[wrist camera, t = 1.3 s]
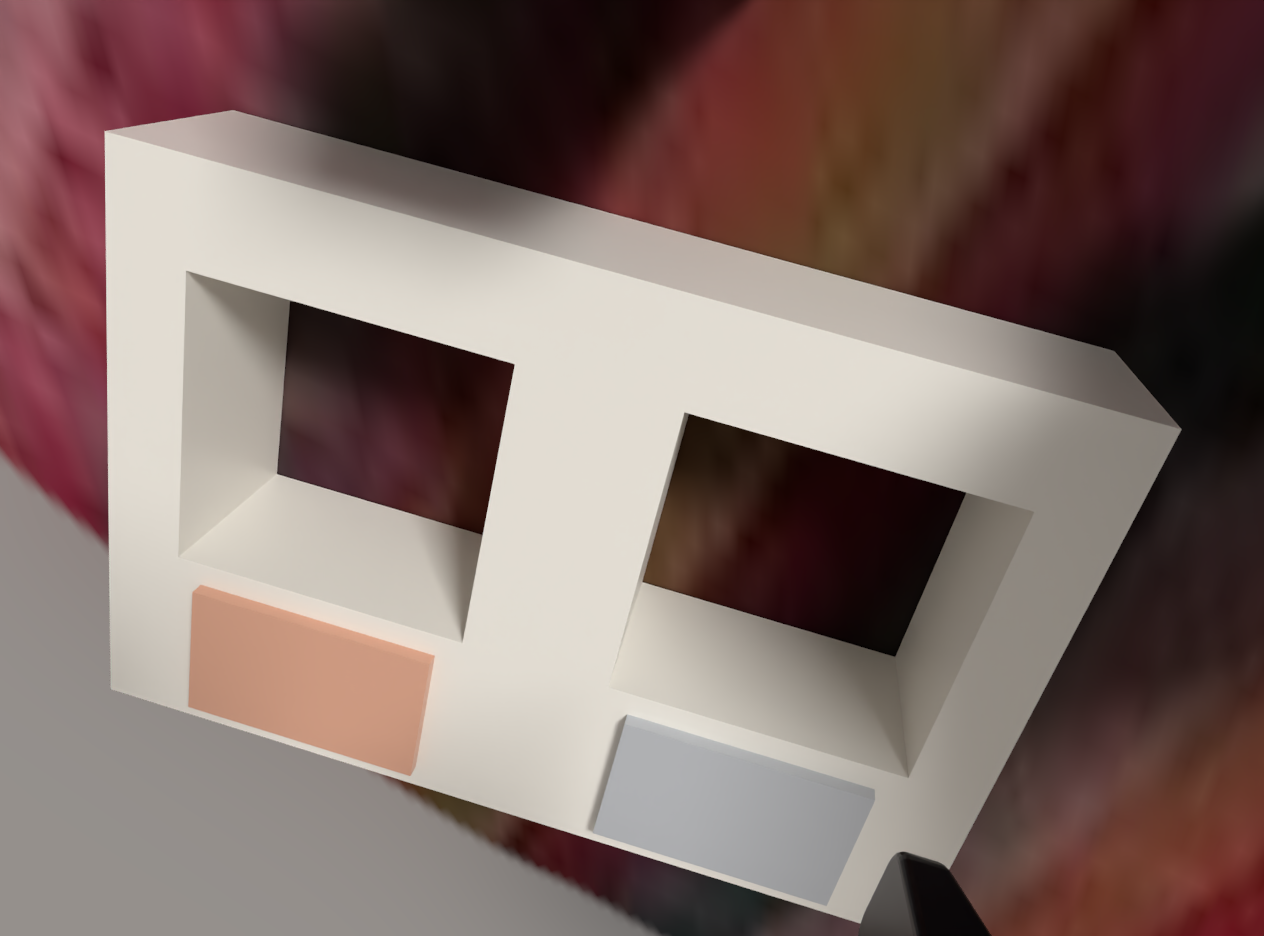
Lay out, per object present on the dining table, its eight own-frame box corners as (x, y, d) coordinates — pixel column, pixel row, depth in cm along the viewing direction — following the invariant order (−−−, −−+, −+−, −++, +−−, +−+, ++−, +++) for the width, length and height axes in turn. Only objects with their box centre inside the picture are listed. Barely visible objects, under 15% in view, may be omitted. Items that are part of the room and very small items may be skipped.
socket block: (1114, 350, 19) (1188, 436, 15) (899, 803, 24) (913, 951, 20) (233, 110, 20) (93, 133, 16) (211, 593, 25) (101, 697, 22)
